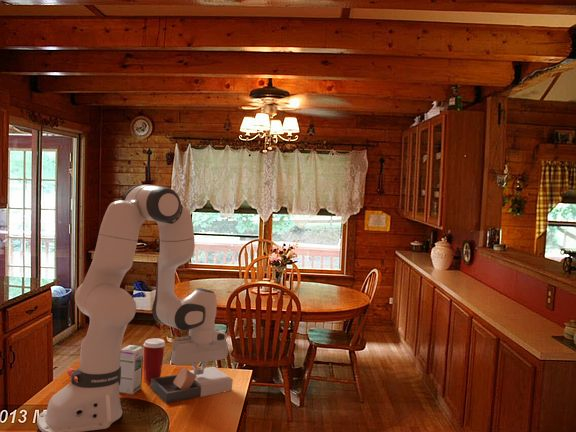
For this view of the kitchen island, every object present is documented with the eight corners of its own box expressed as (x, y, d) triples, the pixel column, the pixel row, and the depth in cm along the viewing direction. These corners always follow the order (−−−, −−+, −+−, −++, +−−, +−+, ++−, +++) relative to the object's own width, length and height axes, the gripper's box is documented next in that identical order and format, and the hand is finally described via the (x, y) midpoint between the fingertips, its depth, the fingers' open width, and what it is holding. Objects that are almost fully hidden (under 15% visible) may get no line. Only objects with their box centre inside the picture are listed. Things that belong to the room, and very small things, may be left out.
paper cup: (167, 379, 169) (170, 341, 169) (151, 385, 163) (153, 345, 162) (152, 373, 173) (155, 336, 173) (135, 379, 167) (138, 340, 167)
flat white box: (200, 396, 156) (201, 384, 156) (183, 382, 168) (184, 371, 168) (231, 390, 164) (232, 379, 163) (213, 377, 175) (214, 366, 175)
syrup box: (132, 394, 154) (135, 351, 154) (116, 392, 155) (119, 348, 155) (141, 388, 159) (144, 346, 159) (125, 385, 161) (128, 344, 160)
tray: (166, 403, 149) (166, 393, 149) (150, 387, 161) (151, 378, 160) (200, 396, 156) (201, 387, 156) (183, 382, 168) (184, 373, 168)
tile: (186, 392, 157) (180, 388, 156) (178, 386, 162) (172, 382, 160) (197, 376, 159) (190, 372, 158) (188, 370, 164) (182, 366, 162)
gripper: (177, 340, 154) (173, 381, 154) (231, 334, 166) (228, 373, 167) (169, 335, 159) (166, 375, 160) (222, 329, 171) (219, 367, 172)
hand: (198, 374), depth 163 cm, fingers closed
